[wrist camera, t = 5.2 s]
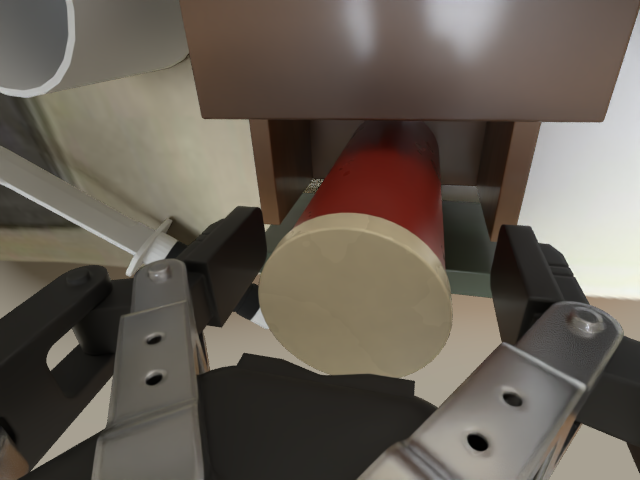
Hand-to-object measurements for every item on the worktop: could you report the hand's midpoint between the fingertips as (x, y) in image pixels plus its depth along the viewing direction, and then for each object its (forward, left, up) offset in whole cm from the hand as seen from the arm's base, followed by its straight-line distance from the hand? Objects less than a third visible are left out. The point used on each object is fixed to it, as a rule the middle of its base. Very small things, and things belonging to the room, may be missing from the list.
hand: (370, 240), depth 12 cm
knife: (-8, -17, -10) cm, 22 cm away
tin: (0, 0, -8) cm, 8 cm away
